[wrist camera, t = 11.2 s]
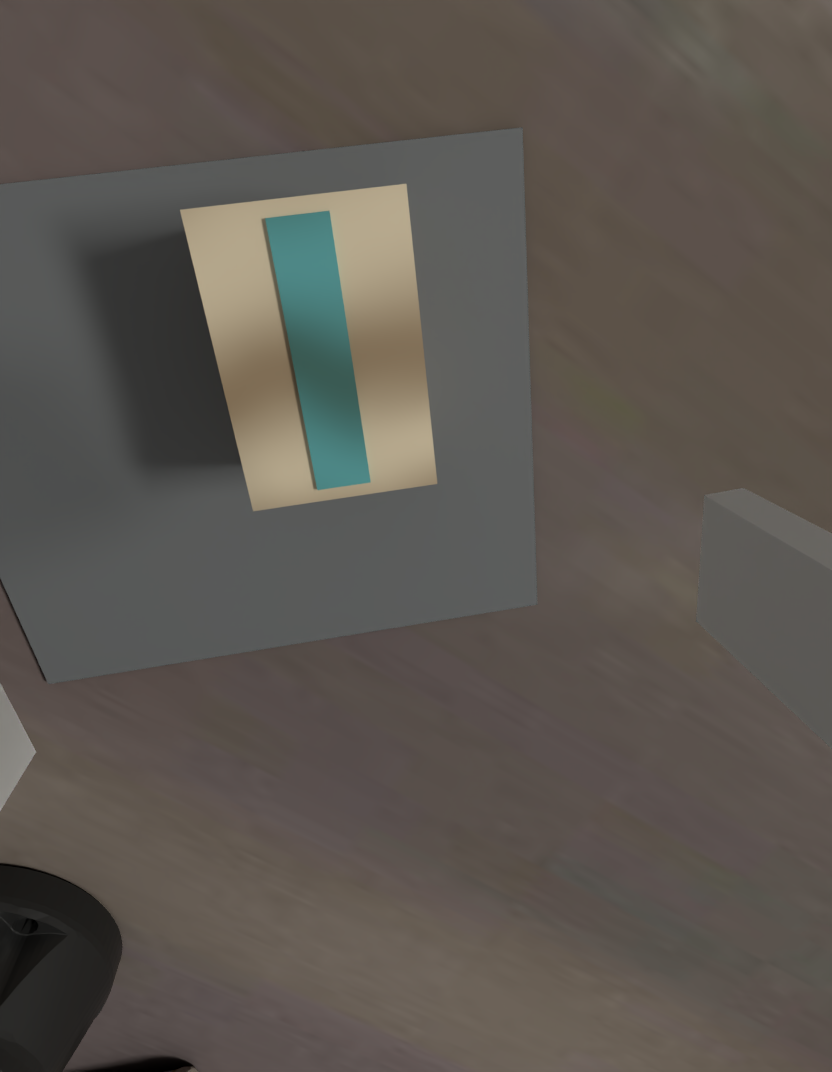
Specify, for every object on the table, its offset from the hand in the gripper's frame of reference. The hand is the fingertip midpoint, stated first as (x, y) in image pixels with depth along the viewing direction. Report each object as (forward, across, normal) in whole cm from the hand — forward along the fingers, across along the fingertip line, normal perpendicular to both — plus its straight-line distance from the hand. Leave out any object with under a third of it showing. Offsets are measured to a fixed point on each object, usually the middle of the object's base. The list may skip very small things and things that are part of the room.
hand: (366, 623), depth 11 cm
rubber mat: (+18, -4, -1) cm, 19 cm away
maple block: (+18, 0, +3) cm, 18 cm away
